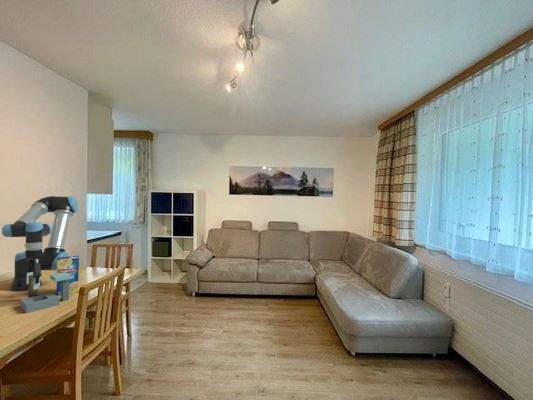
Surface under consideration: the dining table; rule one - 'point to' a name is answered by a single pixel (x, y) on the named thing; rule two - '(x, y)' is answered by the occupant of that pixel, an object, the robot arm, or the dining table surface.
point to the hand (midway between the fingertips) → (33, 286)
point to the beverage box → (70, 267)
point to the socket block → (39, 302)
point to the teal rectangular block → (62, 284)
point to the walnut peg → (31, 287)
